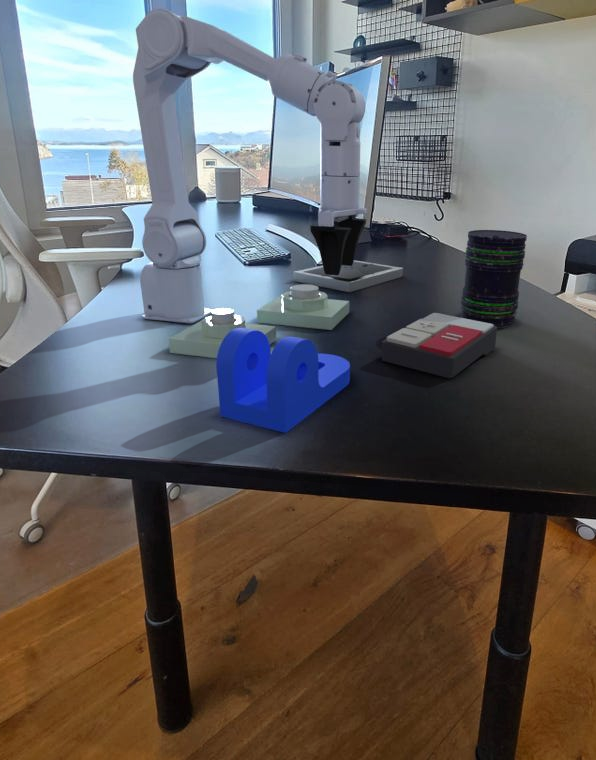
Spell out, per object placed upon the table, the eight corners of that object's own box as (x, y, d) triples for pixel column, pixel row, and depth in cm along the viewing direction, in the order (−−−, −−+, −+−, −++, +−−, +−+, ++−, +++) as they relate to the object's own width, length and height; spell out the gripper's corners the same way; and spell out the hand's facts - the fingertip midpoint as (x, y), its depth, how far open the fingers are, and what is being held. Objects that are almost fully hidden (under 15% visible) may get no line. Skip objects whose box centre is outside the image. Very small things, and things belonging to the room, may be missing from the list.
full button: (286, 299, 92) (286, 289, 92) (296, 293, 97) (296, 283, 96) (313, 302, 91) (313, 291, 91) (322, 295, 96) (322, 285, 95)
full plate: (257, 322, 92) (256, 299, 90) (281, 306, 102) (281, 285, 100) (331, 330, 89) (331, 306, 87) (349, 312, 99) (349, 291, 97)
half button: (207, 324, 78) (206, 313, 77) (218, 318, 81) (217, 307, 80) (228, 327, 77) (227, 315, 76) (238, 321, 80) (237, 309, 79)
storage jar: (462, 310, 103) (470, 228, 97) (516, 315, 100) (527, 232, 94) (456, 324, 94) (464, 235, 88) (514, 330, 91) (527, 239, 86)
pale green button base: (169, 353, 77) (166, 325, 76) (205, 332, 86) (202, 307, 84) (248, 362, 75) (246, 334, 73) (276, 340, 84) (275, 314, 82)
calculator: (380, 336, 75) (433, 308, 86) (380, 364, 77) (431, 334, 88) (452, 353, 69) (498, 321, 80) (450, 383, 71) (496, 348, 82)
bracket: (285, 433, 56) (282, 350, 53) (220, 416, 59) (213, 337, 56) (360, 375, 71) (362, 308, 68) (305, 364, 74) (304, 299, 71)
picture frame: (349, 292, 113) (402, 276, 129) (349, 278, 112) (403, 264, 128) (293, 281, 121) (349, 267, 137) (292, 268, 120) (349, 256, 136)
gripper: (353, 178, 72) (352, 281, 77) (377, 175, 85) (374, 263, 90) (303, 176, 73) (304, 277, 78) (334, 173, 86) (333, 260, 91)
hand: (339, 269), depth 84 cm, fingers open, 7 cm apart
